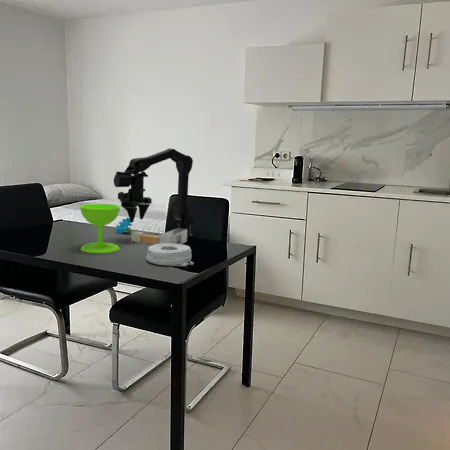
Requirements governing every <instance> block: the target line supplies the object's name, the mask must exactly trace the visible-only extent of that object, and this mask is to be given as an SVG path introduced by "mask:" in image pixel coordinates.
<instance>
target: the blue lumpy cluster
mask: <svg viewBox="0 0 450 450" xmlns="http://www.w3.org/2000/svg"><path fill="white" fill-rule="evenodd" d="M132 223H133V222H130V218H129V217H126V218H123V219H122V221H119V222H118V224H116V226H115V227H116V228H115V229H114V230H115V232H116V234H120V235H121V234H122V233H125V232H126V231H127V232H128V233H130V234H132V233H133V231H132V225H133V224H132Z"/></svg>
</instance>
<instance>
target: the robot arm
mask: <svg viewBox="0 0 450 450" xmlns="http://www.w3.org/2000/svg"><path fill="white" fill-rule="evenodd" d="M169 159H170V160H171V161H173V162H174V163H175V167H176V168H175V169H176V171H177V173H178V180H177V182H178V183H177V186H178V187H177V202H176V204H175V205H173V206H172V215H173V218H174V219H175V221H176V223H177V224H178V228H182V229H187V238H189V237H192V236H193V233H191V228H192V227H191V226H193V225H195V221H196V220H195V219H194V218H193V217H192V216H191V209H190V206H189V204H188V196H189V195H188V194H189V177H190V176H189V175H190V172H191V171H192V169H193V164H194V160H193V158H192V157H191V156H190V155H186V154H184V153H182V152H180V151H178V150H177V149H175V148H167V149H165V150H163V151H160V152H156V153H154V154H152V155H149V156H144V157H135V158H132V159H130V160H129V163H128V166H126V167H127V168H126V169H125V170H124V171H116V172H115V175H114V177H113V185H114V187H115V188H128V191H127V192H124V191H119V192H118V194H117V199H118V200H119V202H120V208H121V207H122V209H124V210H125V211H126V212H127V215H128V218H130V222H132V223H134V221H135V218H136V214H137V210H138V211H139V220H143V219H144V217H145V215H146V213H147V212H148V209H149V207H150V206H151V204H152V203H153V199H152V198H151V197H149V196H144V192H146V189H145V187H144V179H145V178H148V177H149V175H148V174H147V173H146V172H145V171H147V170H148V169H149V168H150V167H151V166H153V165H156V164H158V163H161V162H164V161H166V160H169ZM129 187H130V188H129Z"/></svg>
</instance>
